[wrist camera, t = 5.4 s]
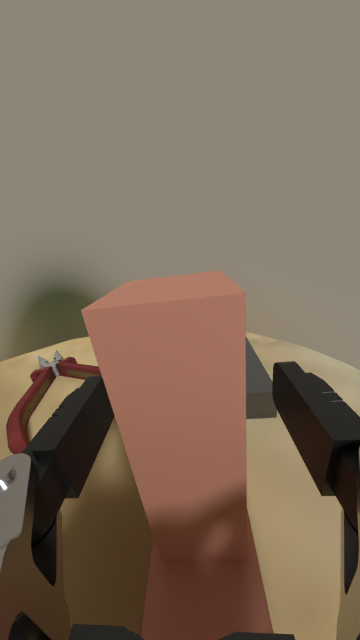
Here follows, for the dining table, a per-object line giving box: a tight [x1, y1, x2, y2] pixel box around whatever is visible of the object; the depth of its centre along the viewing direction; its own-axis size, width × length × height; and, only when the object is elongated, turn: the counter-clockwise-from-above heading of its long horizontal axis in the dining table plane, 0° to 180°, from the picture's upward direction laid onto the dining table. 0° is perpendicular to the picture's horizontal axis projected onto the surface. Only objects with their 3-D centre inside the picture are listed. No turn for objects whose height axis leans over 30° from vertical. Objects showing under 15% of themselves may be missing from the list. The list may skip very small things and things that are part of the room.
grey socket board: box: [246, 338, 277, 419], centre depth 25 cm, size 14×14×3 cm
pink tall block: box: [81, 271, 273, 640], centre depth 8 cm, size 4×9×15 cm, turn 177°
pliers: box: [6, 351, 101, 454], centre depth 28 cm, size 12×20×3 cm, turn 40°
